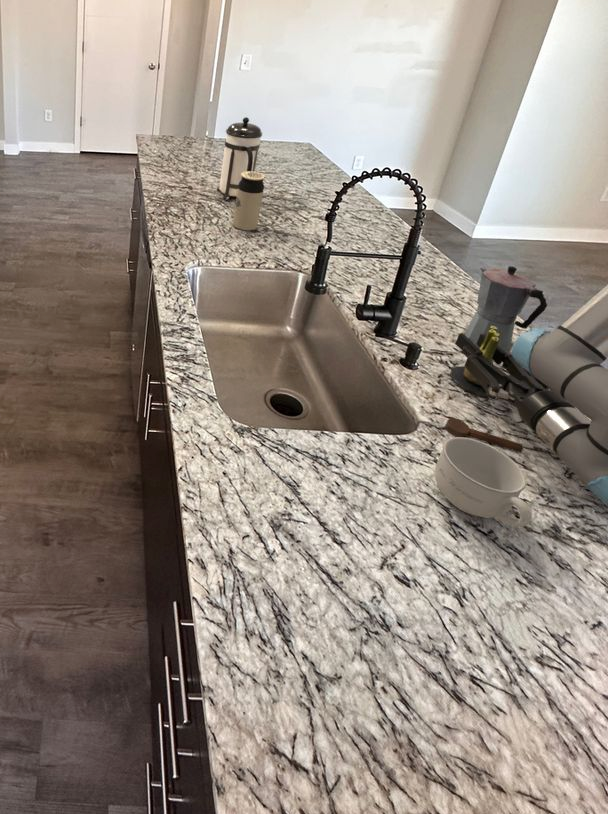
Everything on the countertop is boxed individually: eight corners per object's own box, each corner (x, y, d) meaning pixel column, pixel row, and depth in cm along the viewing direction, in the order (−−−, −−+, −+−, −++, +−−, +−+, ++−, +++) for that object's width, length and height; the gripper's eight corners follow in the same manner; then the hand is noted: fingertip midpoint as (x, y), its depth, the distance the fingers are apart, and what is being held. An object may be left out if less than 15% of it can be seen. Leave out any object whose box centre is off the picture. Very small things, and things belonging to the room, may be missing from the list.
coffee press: (205, 194, 205) (215, 116, 192) (229, 185, 215) (240, 110, 202) (244, 208, 193) (257, 126, 180) (267, 198, 203) (281, 119, 190)
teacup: (415, 468, 90) (430, 433, 87) (480, 471, 90) (497, 436, 87) (464, 547, 78) (483, 509, 74) (539, 551, 78) (562, 513, 74)
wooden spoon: (518, 443, 96) (521, 438, 96) (522, 457, 93) (525, 452, 93) (444, 420, 101) (446, 415, 100) (446, 433, 98) (448, 428, 97)
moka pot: (471, 324, 130) (500, 251, 122) (535, 363, 117) (573, 285, 109) (441, 330, 127) (469, 256, 119) (504, 371, 114) (540, 291, 106)
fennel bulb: (470, 368, 114) (489, 321, 109) (495, 382, 110) (517, 334, 105) (456, 378, 111) (476, 330, 106) (482, 392, 107) (503, 343, 102)
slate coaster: (497, 376, 113) (498, 374, 113) (504, 403, 105) (505, 401, 105) (448, 363, 116) (449, 361, 116) (452, 388, 109) (452, 386, 109)
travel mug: (255, 222, 182) (264, 172, 175) (257, 232, 175) (267, 180, 167) (231, 220, 183) (239, 170, 176) (233, 229, 176) (241, 177, 169)
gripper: (499, 436, 93) (424, 352, 114) (595, 438, 93) (502, 354, 115) (515, 403, 90) (435, 322, 111) (614, 405, 90) (515, 325, 111)
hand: (469, 338), depth 113 cm, fingers closed on fennel bulb, 4 cm apart
